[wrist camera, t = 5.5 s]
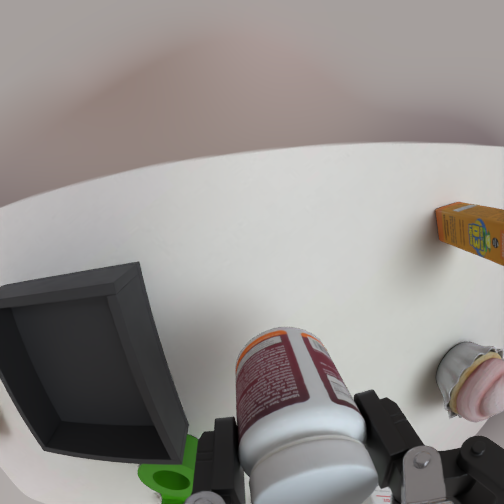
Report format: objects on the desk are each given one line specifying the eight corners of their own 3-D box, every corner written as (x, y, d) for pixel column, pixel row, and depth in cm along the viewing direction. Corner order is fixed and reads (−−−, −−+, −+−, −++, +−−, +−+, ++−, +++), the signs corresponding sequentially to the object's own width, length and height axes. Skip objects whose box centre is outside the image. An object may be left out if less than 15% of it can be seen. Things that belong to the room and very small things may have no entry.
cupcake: (467, 390, 29) (508, 432, 20) (414, 401, 29) (455, 455, 19) (492, 326, 27) (545, 361, 18) (440, 330, 27) (498, 377, 17)
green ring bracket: (140, 427, 28) (130, 456, 23) (205, 432, 28) (202, 464, 23) (163, 496, 31) (159, 520, 26) (214, 500, 31) (214, 525, 26)
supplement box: (431, 208, 24) (510, 222, 14) (457, 201, 24) (534, 212, 14) (436, 243, 25) (511, 269, 15) (461, 234, 25) (535, 256, 15)
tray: (4, 284, 24) (-31, 303, 18) (139, 261, 24) (113, 282, 18) (62, 420, 27) (43, 450, 22) (189, 424, 28) (182, 464, 22)
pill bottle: (232, 398, 15) (234, 533, 7) (239, 321, 14) (245, 463, 6) (317, 399, 16) (361, 520, 7) (335, 325, 15) (414, 445, 6)
